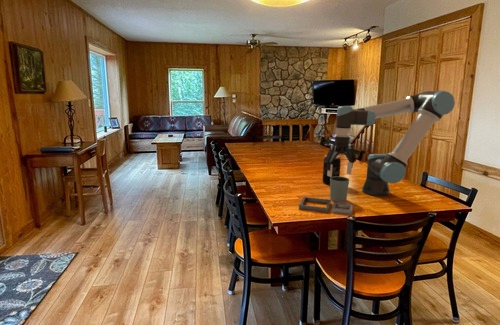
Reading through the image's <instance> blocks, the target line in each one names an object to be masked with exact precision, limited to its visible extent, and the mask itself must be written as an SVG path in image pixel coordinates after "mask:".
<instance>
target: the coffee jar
mask: <svg viewBox="0 0 500 325" xmlns="http://www.w3.org/2000/svg"><path fill="white" fill-rule="evenodd" d="M326 156H327V154H324V155H323V163H322V164H323V166H322V182H323V184H325V185H327V186H328V185H329V186H330V178H331V177H329V176H327V171H328V170H327V164H326V163H324V161H325V158H326ZM341 159H342V156H341V155H340V154H339V155H337V157H336V158H335V160H334V161H333V162H332V165H333V166H332V177H334V176H340V175H341V164H342V161H341ZM340 177H341V176H340Z"/></svg>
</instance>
